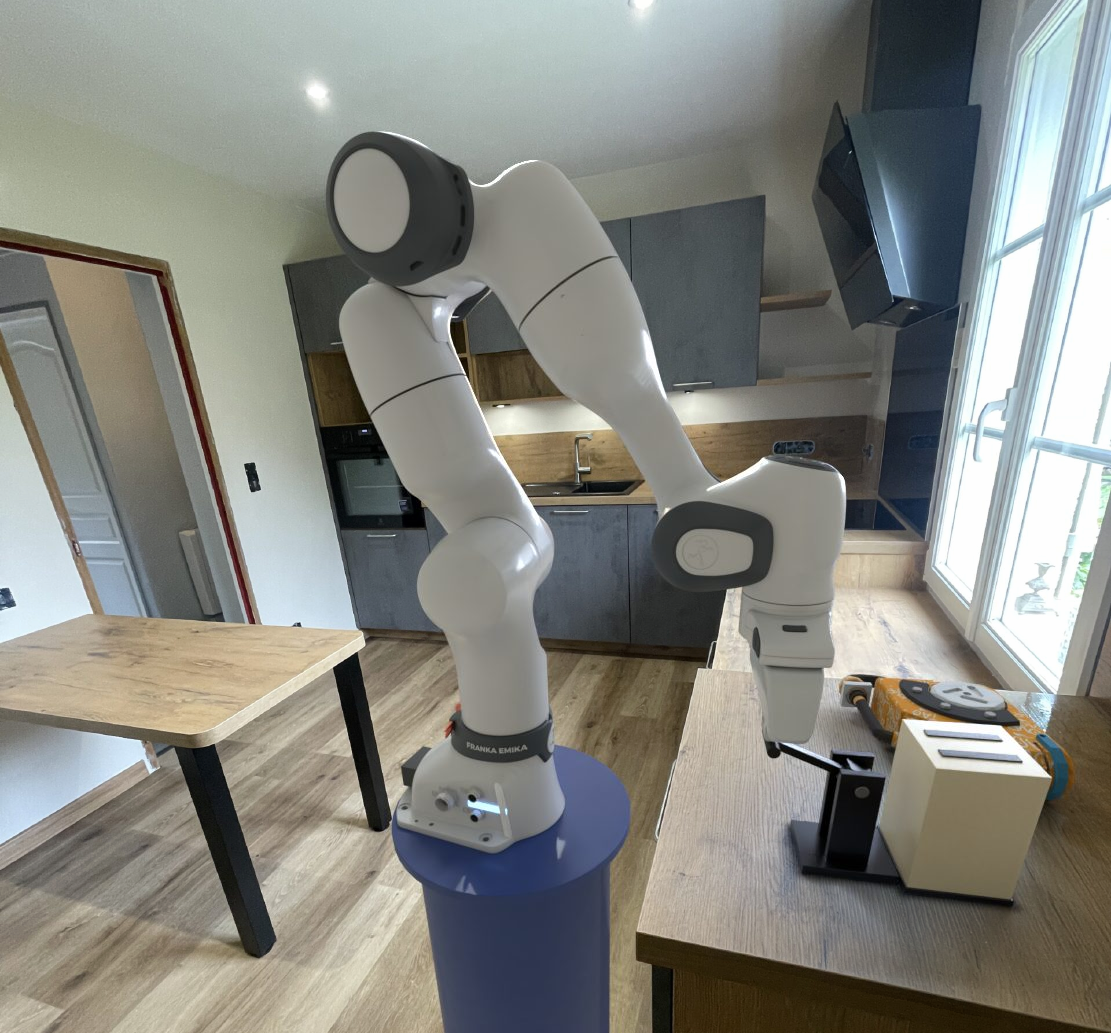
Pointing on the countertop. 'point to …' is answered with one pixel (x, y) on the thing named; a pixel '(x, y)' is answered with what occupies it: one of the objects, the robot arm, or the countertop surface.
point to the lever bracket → (847, 827)
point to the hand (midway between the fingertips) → (770, 735)
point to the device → (952, 716)
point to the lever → (811, 757)
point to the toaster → (961, 810)
